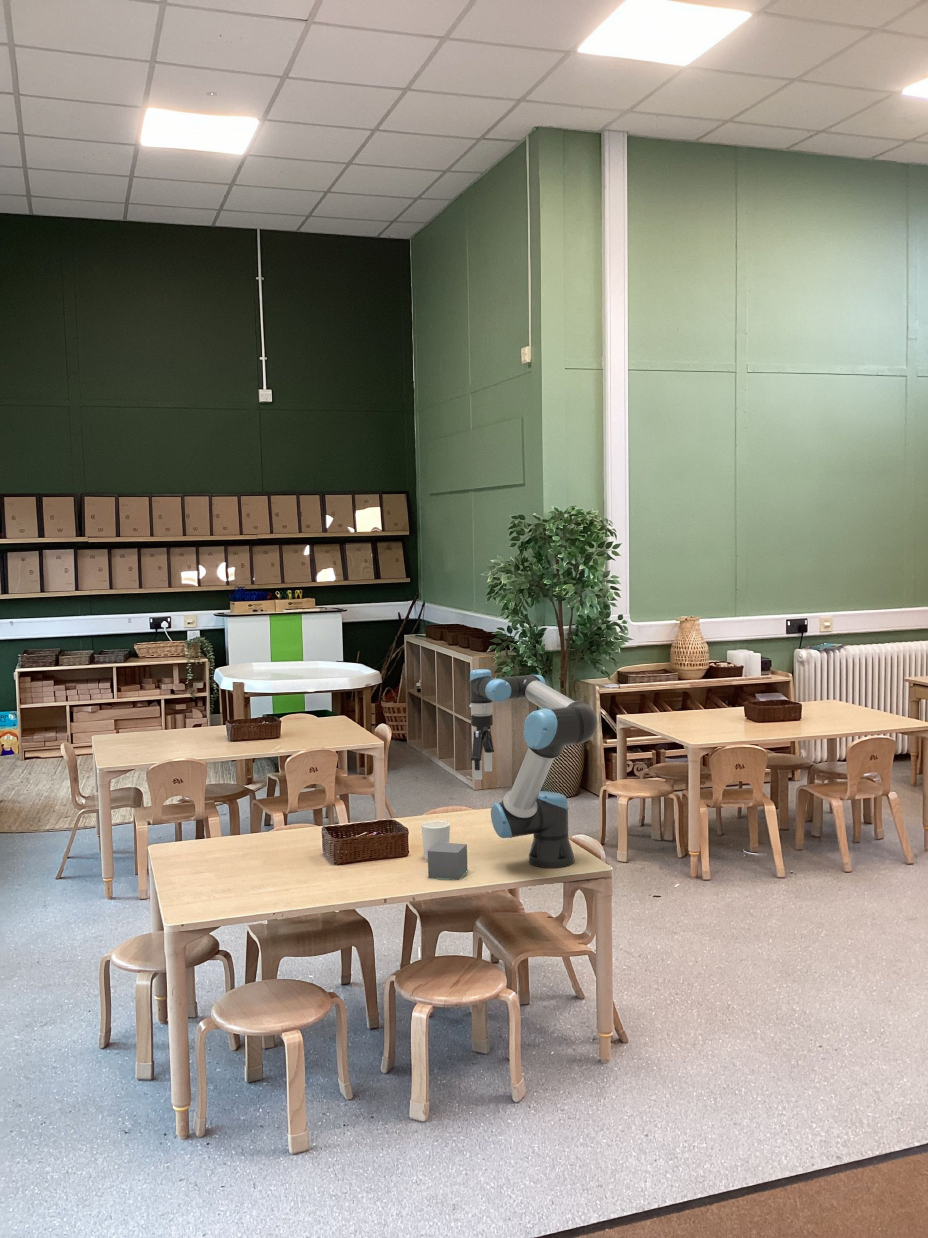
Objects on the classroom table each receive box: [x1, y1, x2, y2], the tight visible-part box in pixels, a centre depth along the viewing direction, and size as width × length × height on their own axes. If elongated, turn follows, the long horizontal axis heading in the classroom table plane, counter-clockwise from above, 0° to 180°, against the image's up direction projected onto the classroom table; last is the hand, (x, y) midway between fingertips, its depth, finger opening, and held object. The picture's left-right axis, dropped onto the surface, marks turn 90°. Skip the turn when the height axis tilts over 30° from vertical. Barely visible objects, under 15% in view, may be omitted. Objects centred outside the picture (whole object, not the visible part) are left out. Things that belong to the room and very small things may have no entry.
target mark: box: [434, 871, 468, 881], centre depth 350 cm, size 12×12×1 cm
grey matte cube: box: [427, 842, 468, 881], centre depth 350 cm, size 10×10×9 cm
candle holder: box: [421, 820, 451, 862], centre depth 367 cm, size 10×10×12 cm
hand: (483, 775), depth 374 cm, fingers open, 13 cm apart
